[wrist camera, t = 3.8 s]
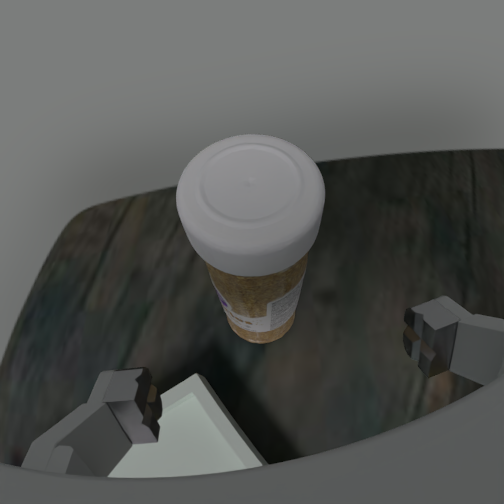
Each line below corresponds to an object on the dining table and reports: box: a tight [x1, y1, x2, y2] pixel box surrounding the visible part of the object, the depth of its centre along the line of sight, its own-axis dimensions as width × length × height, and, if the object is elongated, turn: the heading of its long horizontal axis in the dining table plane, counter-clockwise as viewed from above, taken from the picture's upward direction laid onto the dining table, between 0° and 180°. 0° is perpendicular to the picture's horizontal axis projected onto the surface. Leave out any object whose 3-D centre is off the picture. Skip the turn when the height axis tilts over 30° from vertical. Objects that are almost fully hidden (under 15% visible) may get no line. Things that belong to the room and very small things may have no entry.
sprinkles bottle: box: [176, 134, 325, 343], centre depth 15 cm, size 5×5×14 cm
